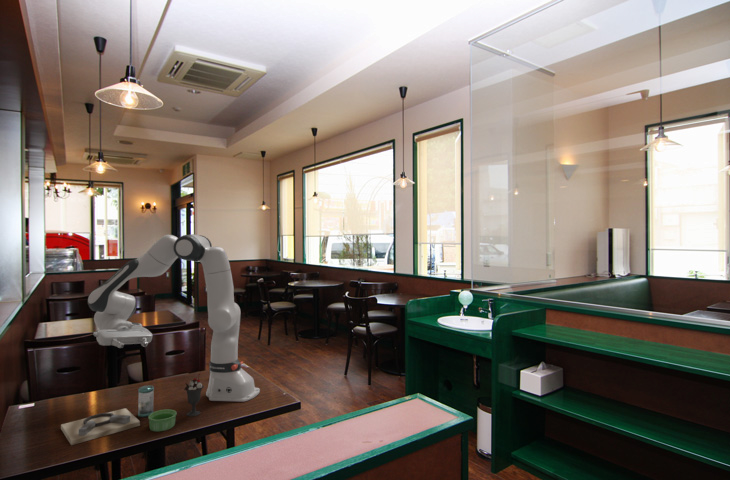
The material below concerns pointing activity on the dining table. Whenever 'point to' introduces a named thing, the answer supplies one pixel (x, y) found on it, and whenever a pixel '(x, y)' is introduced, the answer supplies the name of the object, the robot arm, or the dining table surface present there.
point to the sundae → (194, 395)
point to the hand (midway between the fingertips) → (134, 345)
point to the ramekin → (162, 420)
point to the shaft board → (99, 426)
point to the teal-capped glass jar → (145, 401)
